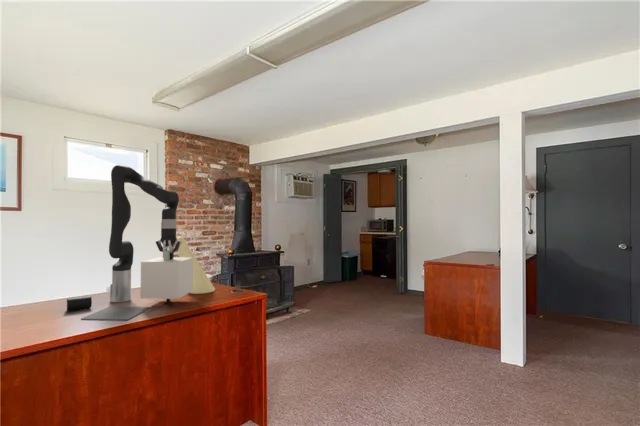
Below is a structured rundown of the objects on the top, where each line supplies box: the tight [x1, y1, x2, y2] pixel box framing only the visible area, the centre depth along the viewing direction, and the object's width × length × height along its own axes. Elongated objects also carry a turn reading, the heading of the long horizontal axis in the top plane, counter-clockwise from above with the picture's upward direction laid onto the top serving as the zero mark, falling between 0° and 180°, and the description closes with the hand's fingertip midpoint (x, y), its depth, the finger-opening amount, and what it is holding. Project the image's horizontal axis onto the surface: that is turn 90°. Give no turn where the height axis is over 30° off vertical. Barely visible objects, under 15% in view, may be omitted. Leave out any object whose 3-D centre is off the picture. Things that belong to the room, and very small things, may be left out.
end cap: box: [66, 295, 93, 313], centre depth 177 cm, size 10×7×7 cm
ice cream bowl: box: [162, 299, 174, 306], centre depth 191 cm, size 11×11×15 cm
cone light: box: [176, 236, 216, 295], centre depth 223 cm, size 25×18×35 cm
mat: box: [80, 305, 152, 322], centre depth 172 cm, size 22×22×1 cm
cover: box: [139, 249, 193, 300], centre depth 191 cm, size 20×20×24 cm
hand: (168, 259), depth 191 cm, fingers closed on cover, 2 cm apart
